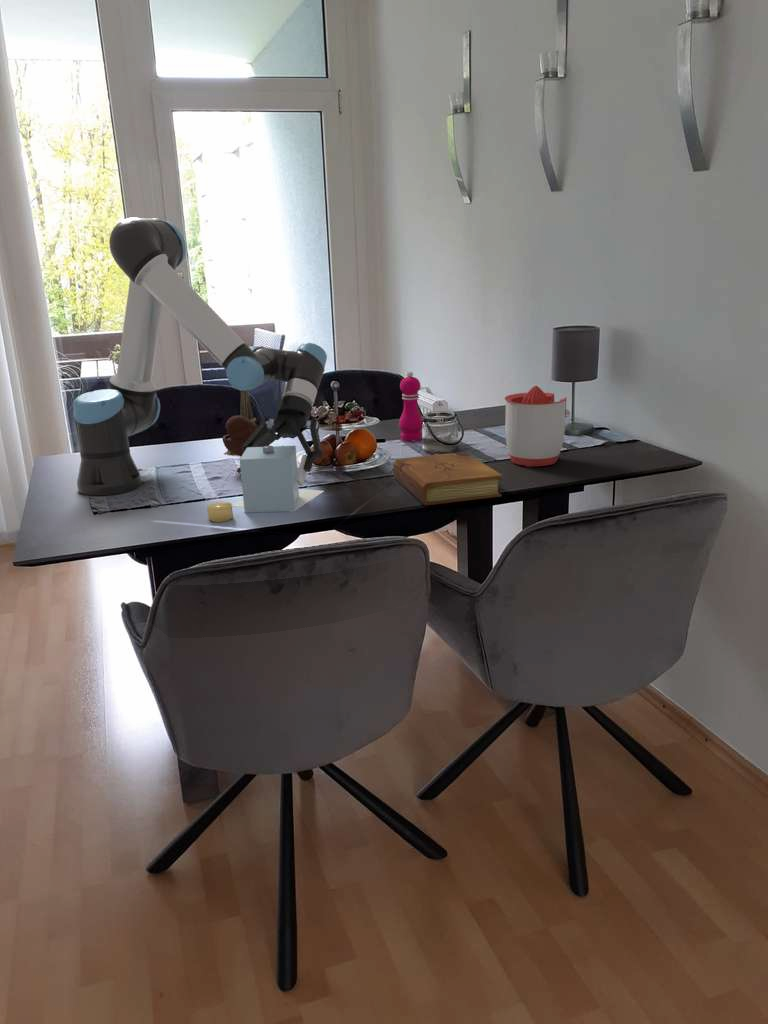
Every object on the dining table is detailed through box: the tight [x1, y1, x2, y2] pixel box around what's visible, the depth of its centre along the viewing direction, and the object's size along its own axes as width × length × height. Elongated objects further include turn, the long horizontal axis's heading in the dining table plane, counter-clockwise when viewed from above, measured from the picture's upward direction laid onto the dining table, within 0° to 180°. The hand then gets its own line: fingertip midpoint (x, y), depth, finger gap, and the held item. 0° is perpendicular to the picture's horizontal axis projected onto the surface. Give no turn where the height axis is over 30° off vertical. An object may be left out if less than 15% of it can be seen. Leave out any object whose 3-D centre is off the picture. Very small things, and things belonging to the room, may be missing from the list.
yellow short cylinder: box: [206, 501, 234, 523], centre depth 173 cm, size 5×5×4 cm
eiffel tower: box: [223, 390, 257, 459], centre depth 227 cm, size 11×11×25 cm
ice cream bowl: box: [222, 415, 259, 474], centre depth 210 cm, size 11×11×15 cm
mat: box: [231, 488, 325, 512], centre depth 187 cm, size 16×16×1 cm
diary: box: [393, 451, 503, 506], centre depth 191 cm, size 23×19×6 cm
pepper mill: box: [398, 371, 424, 442], centre depth 238 cm, size 7×7×20 cm
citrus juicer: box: [504, 385, 571, 468], centre depth 209 cm, size 16×17×20 cm
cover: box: [239, 445, 300, 514], centre depth 180 cm, size 11×11×13 cm
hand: (272, 481), depth 183 cm, fingers closed on cover, 13 cm apart
